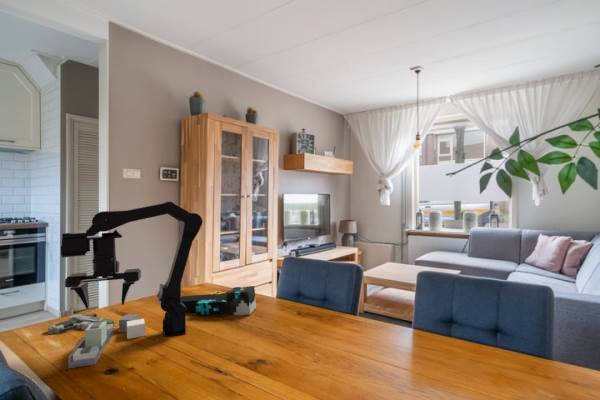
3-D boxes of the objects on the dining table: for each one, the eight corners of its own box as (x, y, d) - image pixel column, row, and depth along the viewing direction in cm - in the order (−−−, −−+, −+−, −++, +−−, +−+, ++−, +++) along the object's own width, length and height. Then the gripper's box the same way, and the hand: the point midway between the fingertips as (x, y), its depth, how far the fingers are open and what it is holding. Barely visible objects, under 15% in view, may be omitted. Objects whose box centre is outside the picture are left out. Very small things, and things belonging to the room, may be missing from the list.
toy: (186, 288, 138) (256, 283, 134) (188, 308, 138) (258, 304, 134) (166, 299, 122) (245, 294, 118) (168, 321, 122) (247, 317, 118)
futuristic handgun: (82, 333, 101) (123, 316, 115) (40, 326, 107) (84, 310, 121) (82, 342, 101) (123, 323, 115) (41, 334, 107) (84, 317, 121)
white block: (138, 325, 113) (138, 314, 113) (131, 331, 108) (131, 319, 108) (126, 326, 113) (126, 314, 112) (119, 332, 108) (119, 319, 107)
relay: (144, 330, 109) (143, 318, 109) (145, 336, 104) (144, 323, 104) (126, 333, 106) (126, 321, 106) (127, 339, 102) (127, 326, 102)
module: (106, 337, 99) (106, 319, 99) (101, 346, 94) (101, 327, 93) (91, 339, 98) (91, 321, 98) (85, 348, 92) (85, 329, 92)
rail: (114, 332, 107) (114, 321, 107) (95, 364, 86) (94, 351, 86) (93, 334, 105) (93, 324, 105) (68, 368, 84) (68, 355, 84)
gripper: (143, 247, 108) (144, 295, 108) (76, 251, 102) (78, 302, 102) (137, 253, 97) (138, 305, 97) (63, 258, 91) (64, 314, 91)
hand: (105, 306), depth 97 cm, fingers open, 9 cm apart
